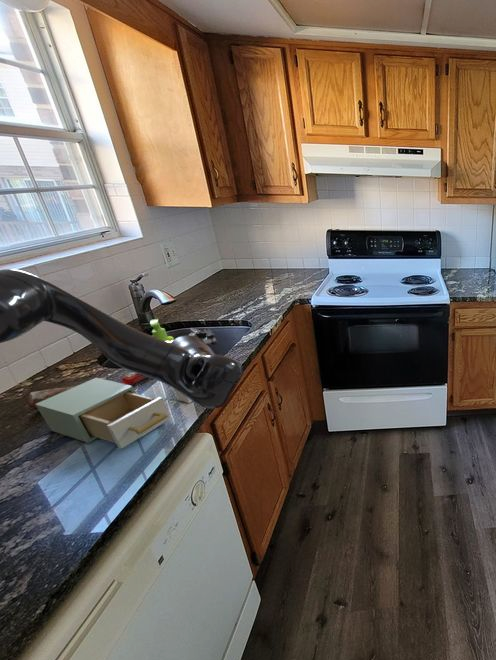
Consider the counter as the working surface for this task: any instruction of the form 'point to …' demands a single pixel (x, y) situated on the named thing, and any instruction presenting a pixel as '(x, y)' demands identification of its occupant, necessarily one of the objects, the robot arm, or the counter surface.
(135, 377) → the candy bar
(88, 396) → the cabinet
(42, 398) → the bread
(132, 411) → the drawer
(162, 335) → the soap dispenser
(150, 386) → the counter surface
